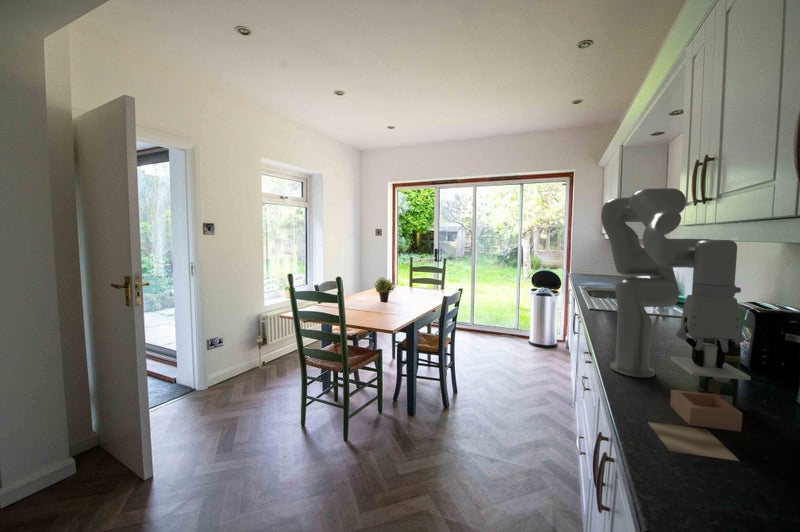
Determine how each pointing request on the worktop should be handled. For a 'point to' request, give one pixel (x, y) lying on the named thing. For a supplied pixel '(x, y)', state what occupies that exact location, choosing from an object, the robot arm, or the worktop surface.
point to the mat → (691, 441)
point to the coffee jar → (723, 386)
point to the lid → (710, 365)
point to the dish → (706, 410)
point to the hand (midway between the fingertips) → (707, 364)
